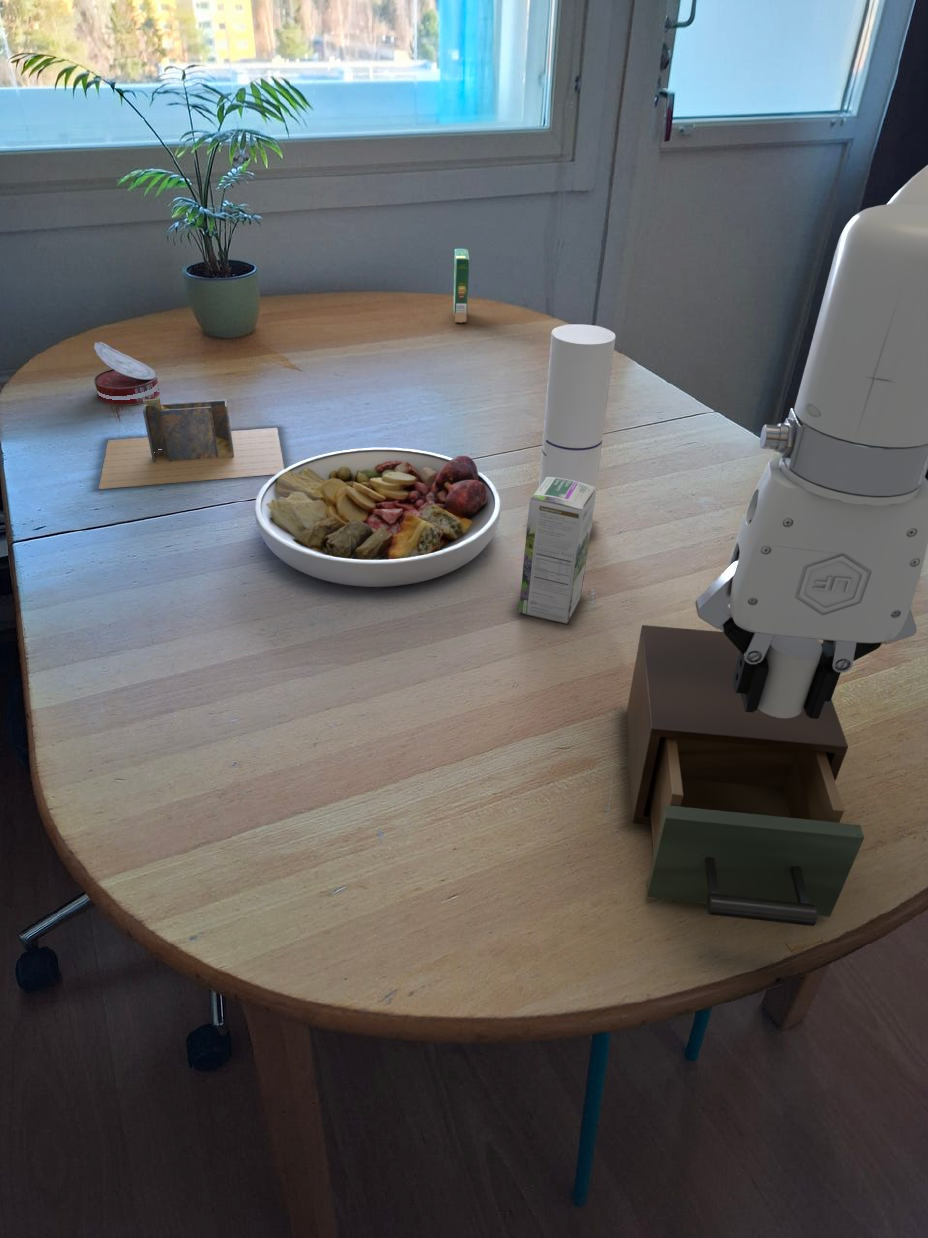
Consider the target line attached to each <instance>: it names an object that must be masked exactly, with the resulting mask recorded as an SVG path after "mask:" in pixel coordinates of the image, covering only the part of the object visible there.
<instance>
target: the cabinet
mask: <svg viewBox="0 0 928 1238" xmlns="http://www.w3.org/2000/svg"><path fill="white" fill-rule="evenodd" d="M640 629H641V630H640V634H639V640H638V646H637V650H636V656H635V662H634V667H633V673H632V680H631V685H630V690H629V696H628V701H627V702H628V703H627V708H626V716H625V717H626V731H627V733H626V734H627V749H628V750H627V751H628V766H629V767H628V768H629V785H630V786H629V787H630V802H631V818H632V823H634V824H644V825H651V814H650V802H649V788H650V784H651V779H652V774H653V769H654V765H655V760H656V755H657V750H658V746H659V741H660V737H669V738H680V739H691V740H701V741H712V742H722V743H733V744H744V745H754V746H765V747H776V748H786V749H797V750H807V751H818V752H826V755H827V758H828V762H829V765H830V768H831V771H832V774H833V777H834V780H835V781H837V778H838V775H839V773H840V770H841V767H842V764H843V762H844V759H845V756H846V754H847V751H848V749H849V744H848V742H847V740H846V736H845V733H844V731H843V728H842V725H841V722H840V719H839V716H838V714H837V710H836V708H835V705H834V702H833V700H832V699H833V698H832V699H831V701H829V702H827V701H825V702H824V705H823V708H822V711H821V714H820V716H819V718H818V719H813V718H809V716H806V713H805V710H804V707H803V710H802V712H801V713H800V714H799V715H797V716H795V717H792V718H777V717H773V716H770V715H768V714H766V713H764V712H762V711H761V710H759V709H758V708H757V711H754V712H753V713H751V712H745V711H744V706H743V702H742V697H741V693H735V691H734V687H733V678H734V673H735V669H736V666H737V662H738V658H739V655H740V651H739V650H738V649H737V647H736V646H735V645H734V644H733V643H732V642H731V641H730V640H729V639H728V638H727V636H726V635H725V633H724V632H723V631H719V630H718V631H717V630H708V629H707V630H706V629H693V628H682V627H672V626H659V625H647V624H642V625H641V628H640Z"/></svg>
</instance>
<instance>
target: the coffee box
mask: <svg viewBox="0 0 928 1238" xmlns="http://www.w3.org/2000/svg"><path fill="white" fill-rule="evenodd" d="M453 258H454V264H453V265H454V267H453V269H454V270H453V271H454V272H453V313H454V312H455V313H467V314H468V303H469V301H468V299H469V274H470V273H469V272H470V255H469V250H468V249H467V248H454V257H453Z"/></svg>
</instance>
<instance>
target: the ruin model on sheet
mask: <svg viewBox="0 0 928 1238" xmlns="http://www.w3.org/2000/svg"><path fill="white" fill-rule="evenodd" d="M142 400H143V399H142ZM142 404H143V409H142V415H143V419H144V424H145V429H146V434H147V436H146V437H145V436H144V437H132V438H117V439H108V440H107V442H106V443H107V444H106V449H105V453H104V460H103V464H102V470H101V475H100V479H99V485H98V490H105V489H106V490H107V489H118V488H119V489H120V488H131V487H142V486H153V485H165V484H167V485H168V484H176V483H178V484H179V483H188V482H202V481H210V480H211V481H214V480H223V479H225V480H226V479H236V478H248V477H260V476H261V477H262V476H271V475H272V476H274V475H276V474H278V473H279V472H281V471H282V470H284V469H285V464H284V463H285V462H284V458H283V453H282V447H281V441H280V436H279V430H278V427H268V428H256V429H255V428H254V429H240V430H232V427H231V421H230V414H229V413H230V412H229V406H228V405H229V404H228V400H227V399H218V400H215V399H214V400H201V401H200V400H199V401H186V402H185V401H184V402H172V403H161V399H160V397H156V398H155V399H150V400H143V403H142ZM158 449H162V450H158ZM154 452H155V453H154Z"/></svg>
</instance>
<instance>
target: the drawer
mask: <svg viewBox="0 0 928 1238" xmlns="http://www.w3.org/2000/svg"><path fill="white" fill-rule="evenodd" d="M649 802H650V814H651V824H650V825H651V826H650V827H651V837H652V850H653V852H652V853H653V854H652V858H651V861H650V866H649V871H648V874H647V875H648V876H647V880H646V884H645V887H646V897H647V898H651V899H659V900H669V901H677V902H678V901H679V902H688V903H697V904H706V906H705V907H706V913H707V914H708V915H709V916H716V917H724V918H733V919H734V918H735V919H745V920H753V921H762V922H769V923H770V922H772V923H780V924H789V925H790V924H791V925H799V926H808V927H815V926H816V925H817V921H818V917H825V918H830V917H831V916H832V913H833V911H834V910H835V907H836V904H837V902H838V901H839V900H838V899H839V897H840V895H841V892H842V890H843V888H844V886H845V884H846V881H847V879H848V877H849V875H850V872H851V870H852V868H853V865H854V863H855V861H856V858H857V856H858V854H859V852H860V849H861V847H862V845H863V842H864V841H865V834H864V832H863V829H862V826H861V824H856V823H847V822H846V823H845V822H841V821H842V818H843V817H844V813H845V808H844V806H843V802H842V800H841V796H840V793H839V790H838V787H837V783H836V780H834V777H833V774H832V771H831V768H830V765H829V762H828V758H827V755H826V752H818V751H807V750H797V749H786V748H776V747H765V746H754V745H744V744H733V743H722V742H712V741H701V740H691V739H680V738H669V737H660V741H659V746H658V750H657V755H656V760H655V765H654V769H653V774H652V779H651V784H650V788H649Z"/></svg>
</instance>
